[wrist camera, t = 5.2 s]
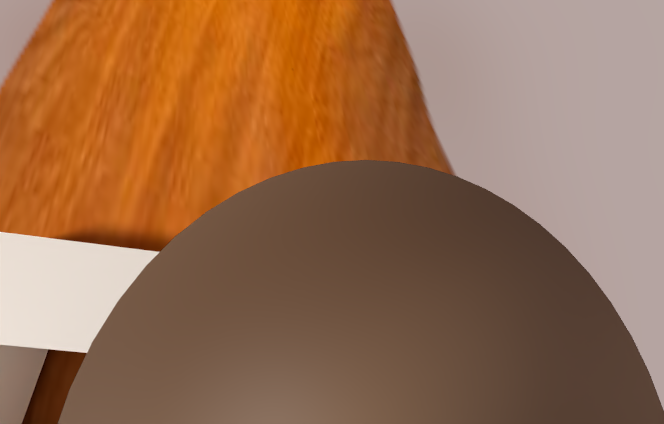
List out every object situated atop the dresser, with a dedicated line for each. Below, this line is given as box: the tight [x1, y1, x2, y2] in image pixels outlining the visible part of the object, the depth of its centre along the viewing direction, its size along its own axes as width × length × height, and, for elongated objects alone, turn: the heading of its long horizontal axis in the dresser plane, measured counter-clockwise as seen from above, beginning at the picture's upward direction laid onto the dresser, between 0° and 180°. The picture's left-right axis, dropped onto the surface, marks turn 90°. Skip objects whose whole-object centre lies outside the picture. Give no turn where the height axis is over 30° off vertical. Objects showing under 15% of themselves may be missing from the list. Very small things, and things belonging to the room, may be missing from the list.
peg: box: [58, 160, 664, 424], centre depth 9 cm, size 5×5×13 cm
